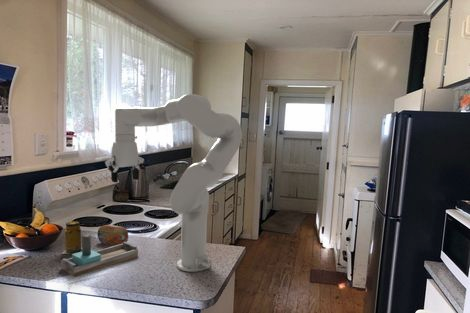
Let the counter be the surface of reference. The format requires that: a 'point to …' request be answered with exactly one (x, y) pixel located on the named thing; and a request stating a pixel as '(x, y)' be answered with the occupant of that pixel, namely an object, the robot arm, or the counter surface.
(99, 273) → the counter surface
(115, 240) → the orange brown rounded block
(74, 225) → the condiment
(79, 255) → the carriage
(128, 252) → the rail board
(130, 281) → the counter surface
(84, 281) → the counter surface
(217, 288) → the counter surface
